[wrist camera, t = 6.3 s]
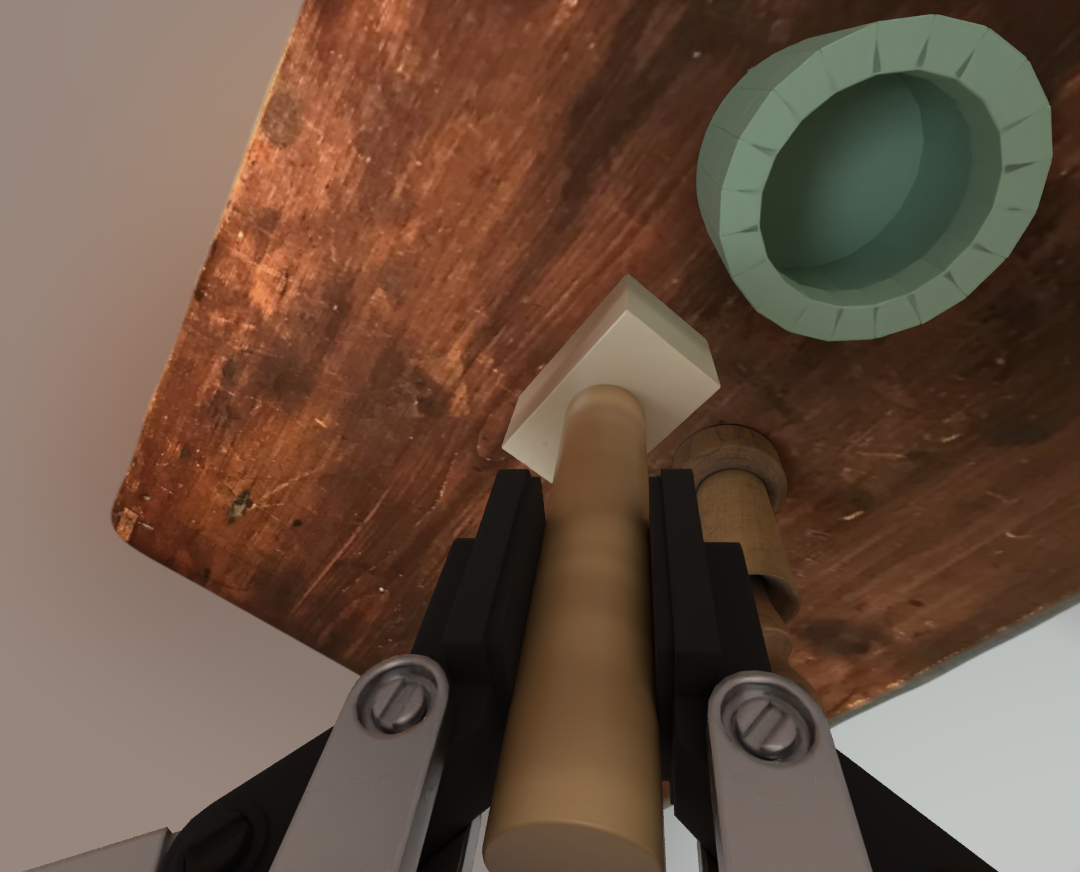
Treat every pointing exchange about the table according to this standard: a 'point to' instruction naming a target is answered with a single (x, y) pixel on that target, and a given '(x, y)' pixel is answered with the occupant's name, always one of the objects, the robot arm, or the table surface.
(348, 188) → the table surface
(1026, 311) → the table surface
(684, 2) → the table surface
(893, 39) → the jar
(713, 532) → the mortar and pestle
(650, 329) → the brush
